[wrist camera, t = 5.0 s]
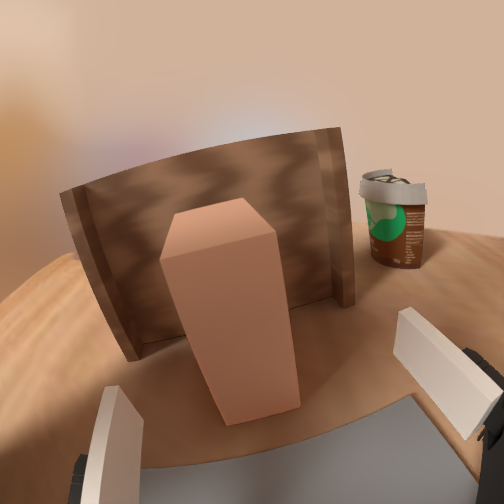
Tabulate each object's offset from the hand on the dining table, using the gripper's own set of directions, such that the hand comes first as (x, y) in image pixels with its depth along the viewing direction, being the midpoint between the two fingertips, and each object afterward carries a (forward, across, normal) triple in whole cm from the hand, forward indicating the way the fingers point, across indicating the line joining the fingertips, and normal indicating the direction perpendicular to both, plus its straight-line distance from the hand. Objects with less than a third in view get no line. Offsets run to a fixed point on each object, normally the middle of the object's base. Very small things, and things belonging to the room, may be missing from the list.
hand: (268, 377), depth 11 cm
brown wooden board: (+13, -1, -6) cm, 15 cm away
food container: (+19, +19, -7) cm, 28 cm away
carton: (+7, -1, -6) cm, 10 cm away
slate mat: (-7, -1, -6) cm, 10 cm away
